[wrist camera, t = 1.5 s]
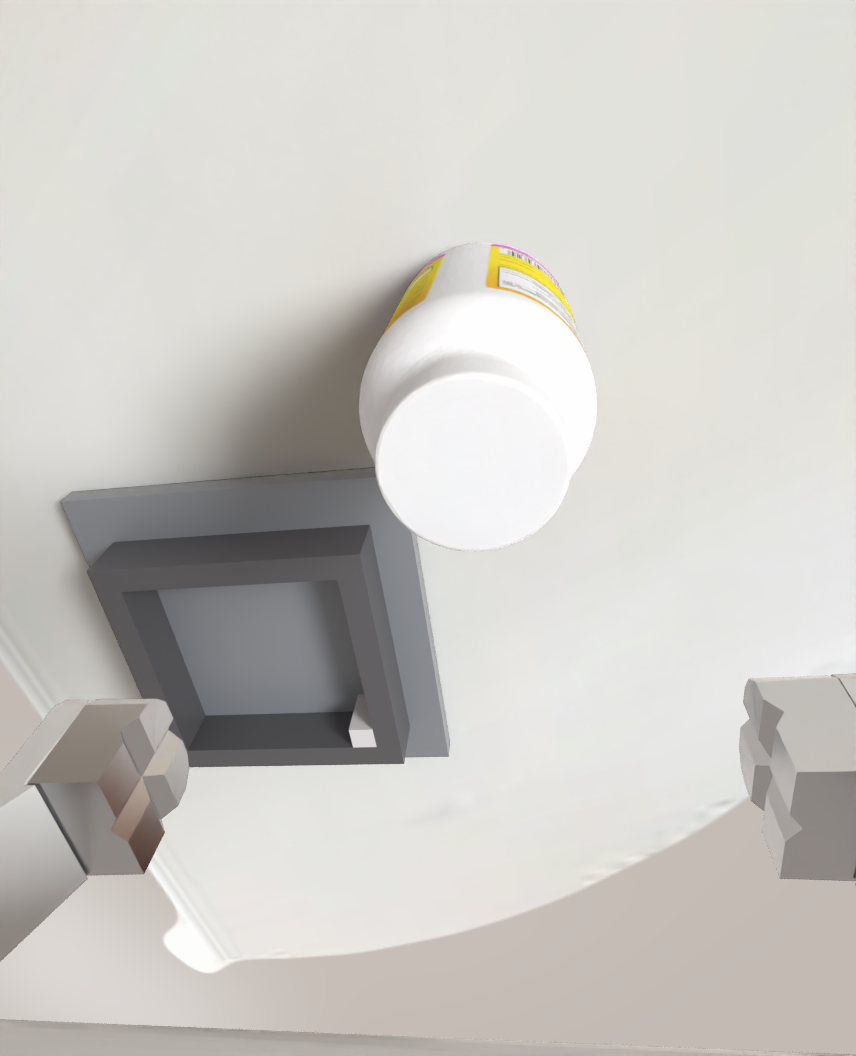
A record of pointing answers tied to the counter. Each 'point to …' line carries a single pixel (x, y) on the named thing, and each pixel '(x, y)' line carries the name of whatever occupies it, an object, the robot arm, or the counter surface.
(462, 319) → the supplement bottle
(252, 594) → the pocket plate
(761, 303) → the counter surface
